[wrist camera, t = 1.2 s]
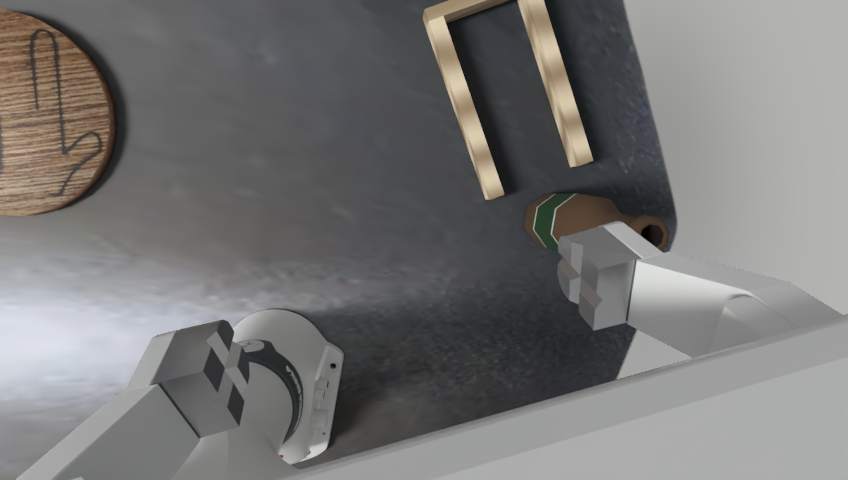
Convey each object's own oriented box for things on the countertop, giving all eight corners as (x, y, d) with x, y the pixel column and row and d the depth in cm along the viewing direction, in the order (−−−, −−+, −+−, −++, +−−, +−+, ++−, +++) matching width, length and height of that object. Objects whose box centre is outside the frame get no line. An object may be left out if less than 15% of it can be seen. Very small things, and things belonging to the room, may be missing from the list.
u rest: (583, 162, 59) (593, 160, 56) (485, 199, 58) (490, 199, 55) (526, -19, 56) (534, -31, 53) (422, 19, 55) (424, 9, 52)
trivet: (97, 5, 52) (86, -2, 50) (136, 203, 55) (127, 203, 53) (-118, 23, 50) (-138, 16, 48) (-66, 226, 53) (-82, 227, 51)
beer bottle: (584, 210, 60) (712, 221, 36) (555, 256, 60) (663, 297, 36) (540, 182, 59) (641, 174, 35) (511, 229, 59) (592, 252, 35)
